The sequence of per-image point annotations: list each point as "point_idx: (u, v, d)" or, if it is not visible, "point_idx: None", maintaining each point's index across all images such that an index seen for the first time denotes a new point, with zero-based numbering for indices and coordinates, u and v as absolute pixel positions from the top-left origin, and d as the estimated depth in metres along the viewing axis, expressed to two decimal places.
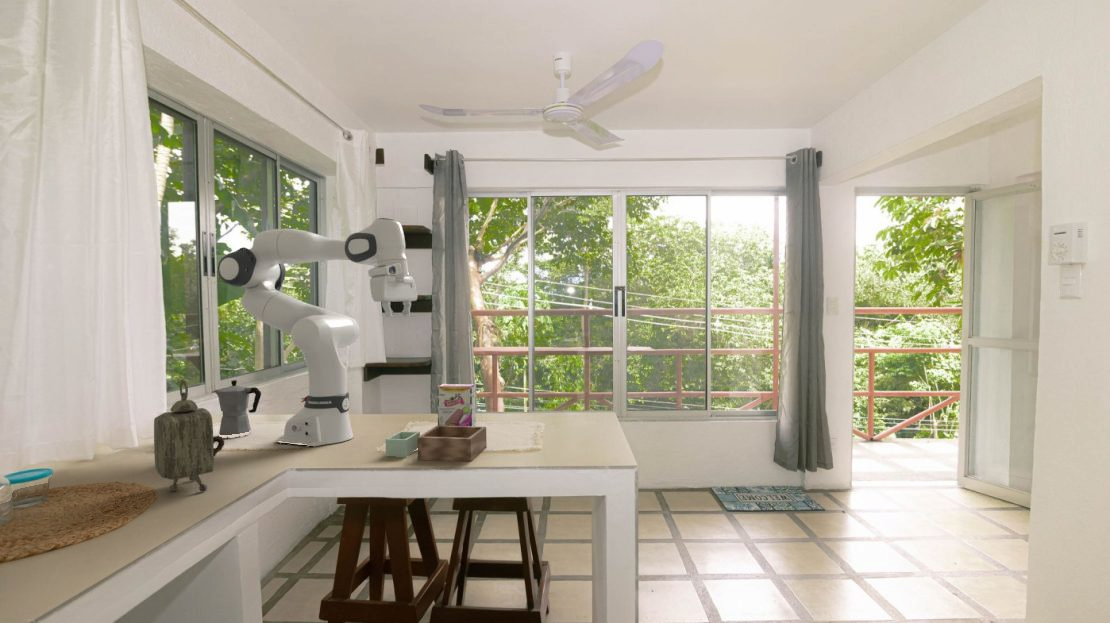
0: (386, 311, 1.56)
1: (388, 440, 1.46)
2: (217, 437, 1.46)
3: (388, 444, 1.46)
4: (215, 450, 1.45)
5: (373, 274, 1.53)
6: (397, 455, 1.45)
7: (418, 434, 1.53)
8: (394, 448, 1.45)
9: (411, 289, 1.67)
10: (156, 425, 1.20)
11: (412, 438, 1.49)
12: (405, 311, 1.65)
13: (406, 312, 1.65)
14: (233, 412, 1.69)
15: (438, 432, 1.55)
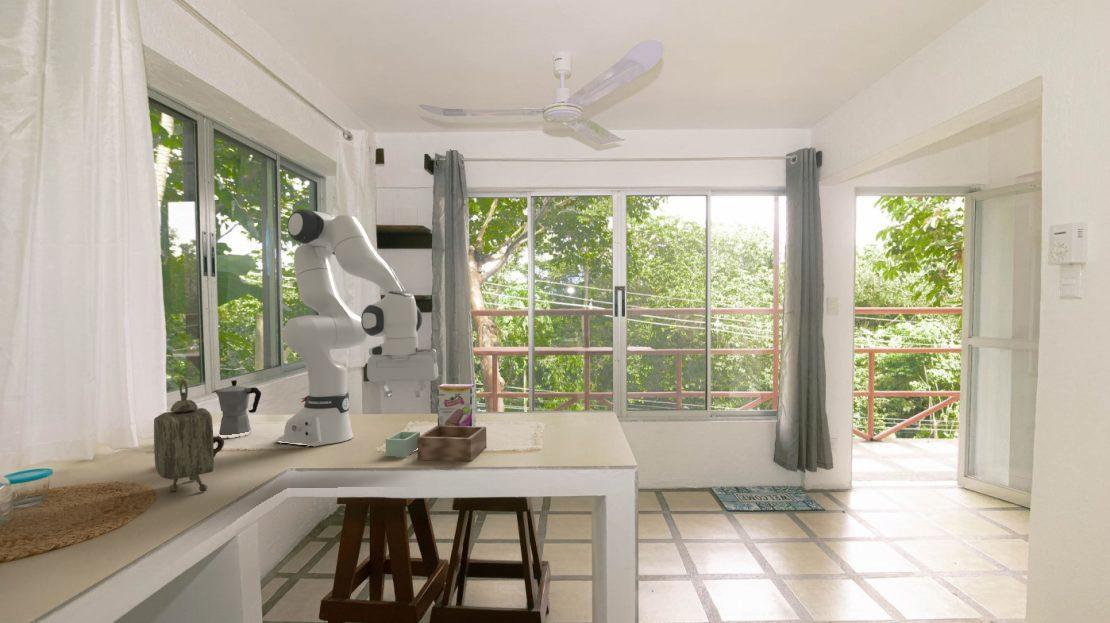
0: None
1: (388, 440, 1.46)
2: (217, 437, 1.46)
3: (388, 444, 1.46)
4: (215, 450, 1.45)
5: None
6: (397, 455, 1.45)
7: (418, 434, 1.53)
8: (394, 448, 1.45)
9: (421, 368, 1.47)
10: (156, 425, 1.20)
11: (412, 438, 1.49)
12: None
13: None
14: (233, 412, 1.69)
15: (438, 432, 1.55)
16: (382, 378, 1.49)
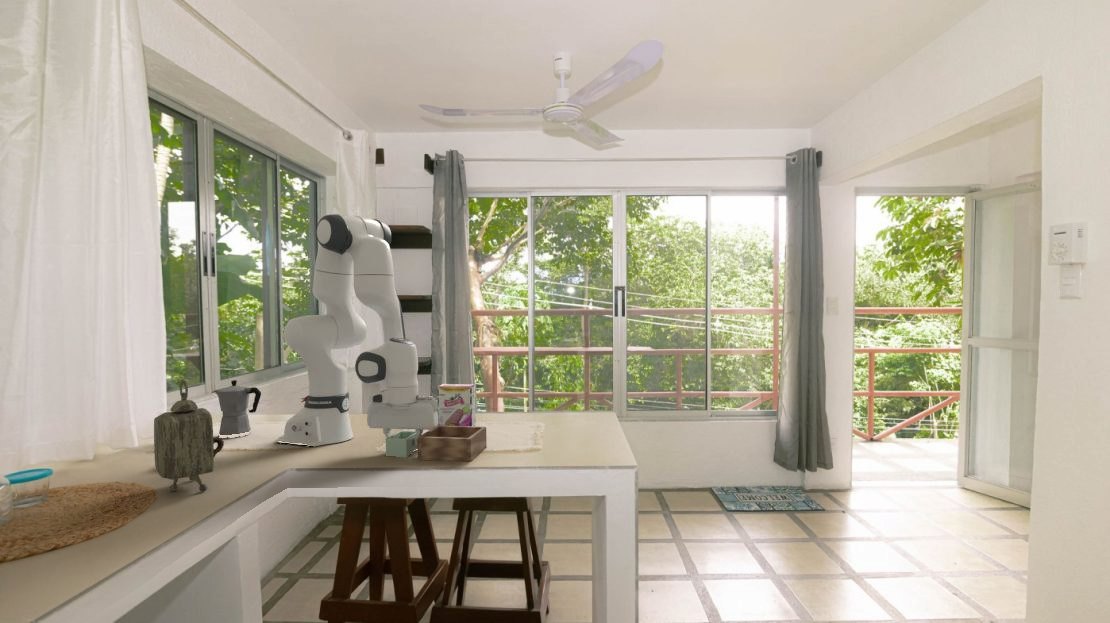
0: None
1: (388, 439, 1.46)
2: (216, 438, 1.45)
3: (388, 444, 1.46)
4: (215, 451, 1.44)
5: None
6: (397, 454, 1.45)
7: None
8: (394, 447, 1.45)
9: (421, 417, 1.47)
10: (156, 425, 1.20)
11: (412, 438, 1.49)
12: None
13: None
14: (233, 412, 1.69)
15: (438, 432, 1.55)
16: (382, 425, 1.49)
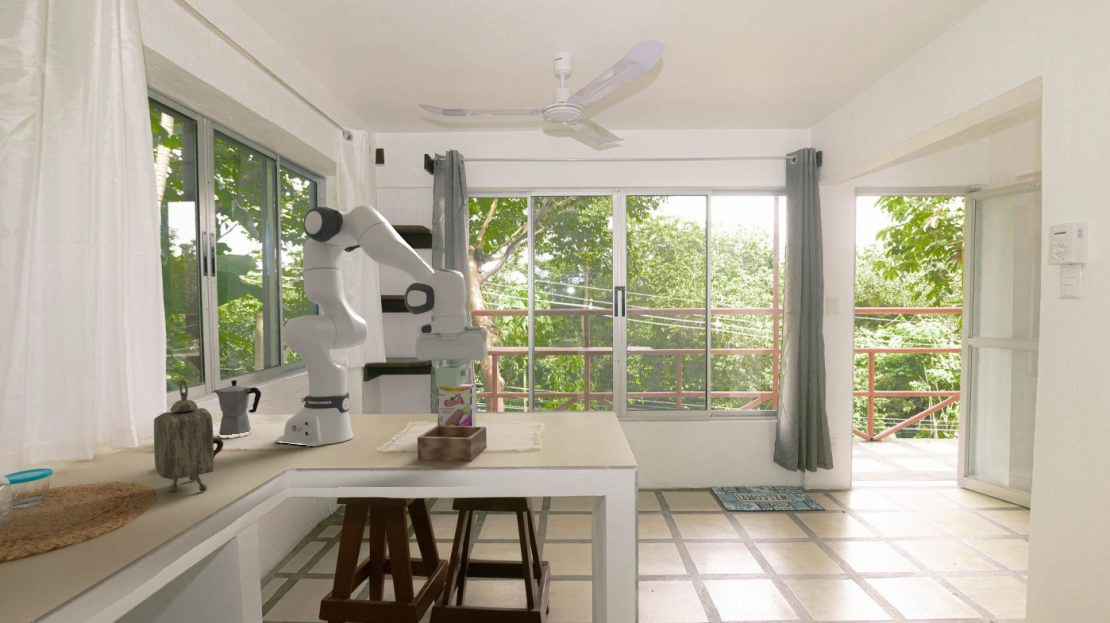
0: None
1: (438, 369, 1.44)
2: (216, 439, 1.44)
3: (438, 373, 1.44)
4: (214, 452, 1.43)
5: None
6: (447, 384, 1.44)
7: None
8: (444, 377, 1.44)
9: (471, 347, 1.45)
10: (156, 425, 1.20)
11: (461, 369, 1.47)
12: None
13: None
14: (233, 412, 1.69)
15: (438, 432, 1.55)
16: (431, 357, 1.47)
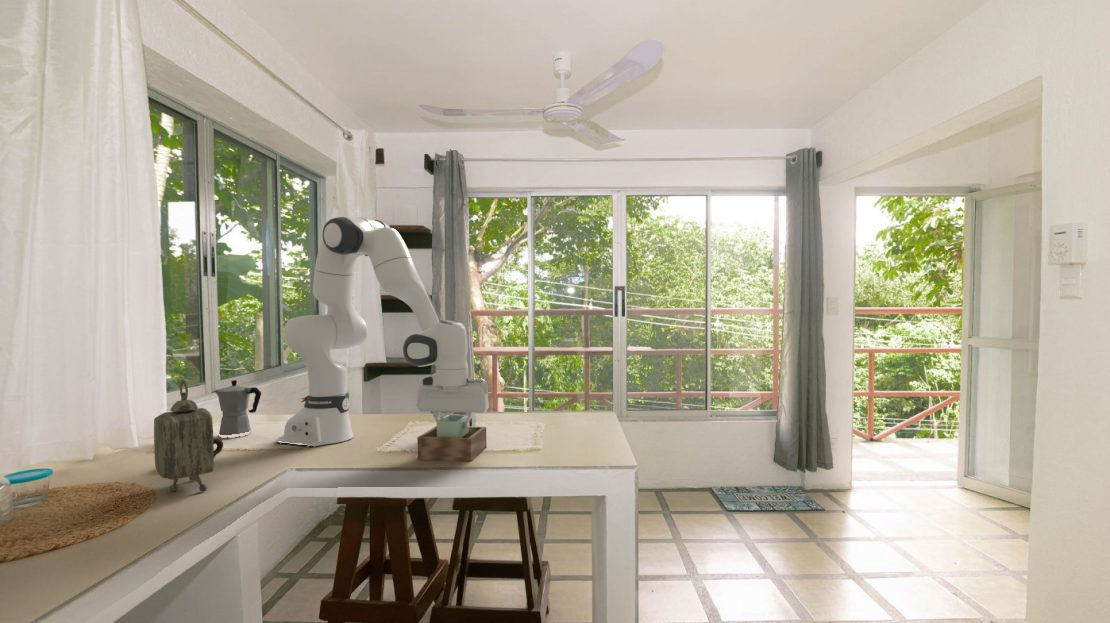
0: None
1: (439, 422, 1.44)
2: (216, 439, 1.44)
3: (439, 426, 1.44)
4: (214, 452, 1.43)
5: None
6: None
7: None
8: (445, 430, 1.44)
9: (472, 400, 1.45)
10: (156, 425, 1.20)
11: (462, 421, 1.47)
12: None
13: None
14: (233, 412, 1.69)
15: None
16: (432, 408, 1.47)
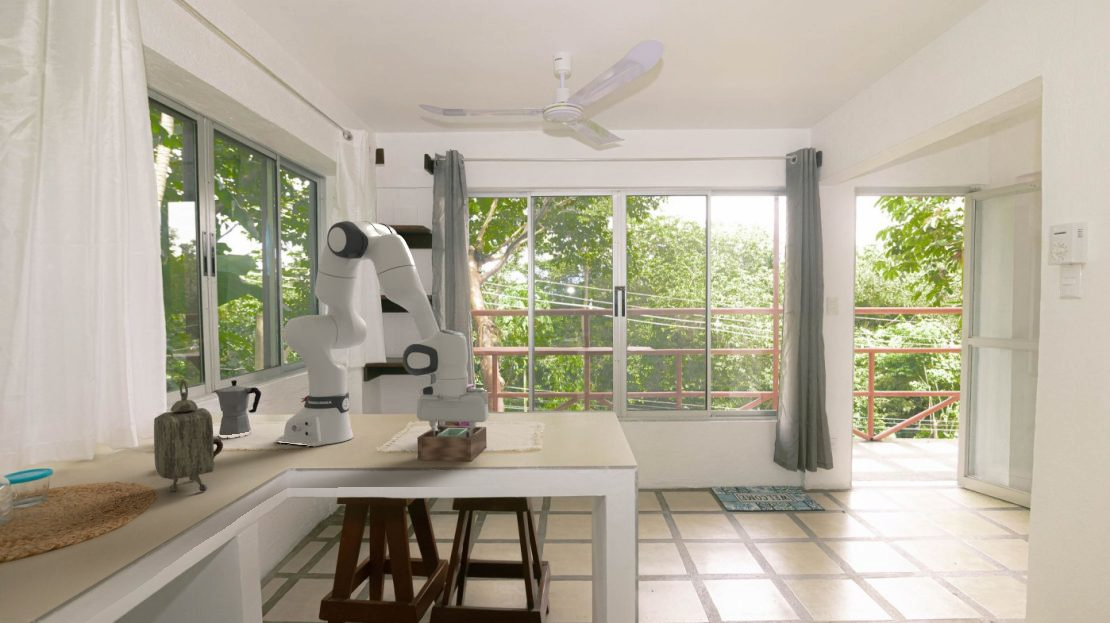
0: None
1: (439, 436, 1.44)
2: (216, 440, 1.43)
3: None
4: (214, 453, 1.42)
5: None
6: None
7: None
8: None
9: (472, 409, 1.45)
10: (156, 425, 1.20)
11: (462, 435, 1.47)
12: None
13: None
14: (233, 412, 1.69)
15: None
16: (432, 418, 1.47)
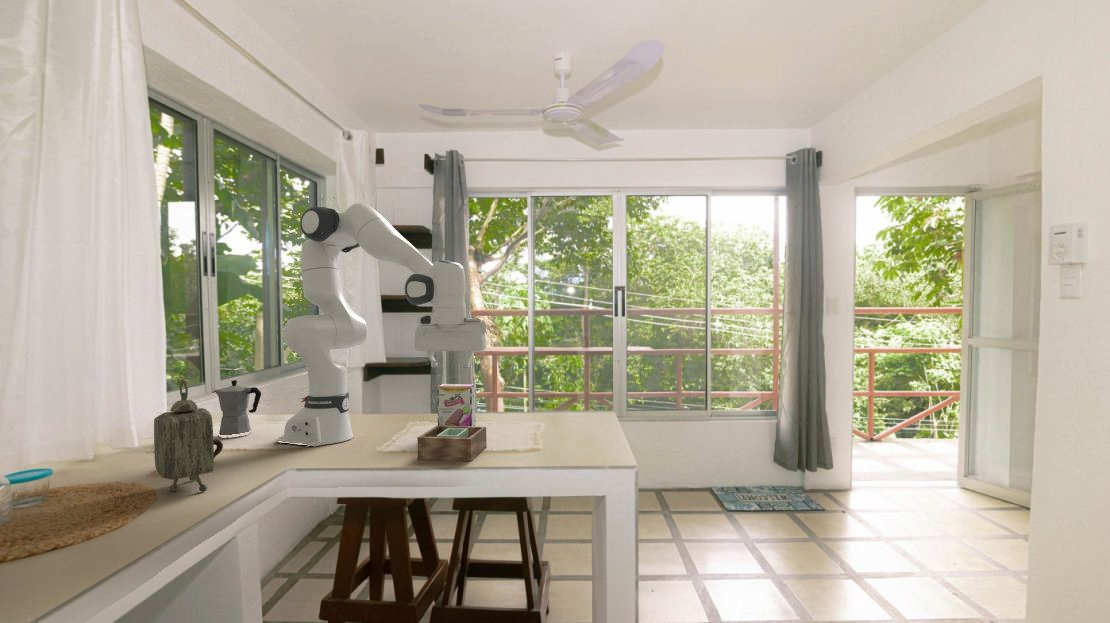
0: None
1: (439, 436, 1.44)
2: (215, 440, 1.43)
3: None
4: (214, 453, 1.42)
5: None
6: None
7: (467, 430, 1.51)
8: None
9: (470, 339, 1.46)
10: (156, 425, 1.20)
11: (462, 435, 1.47)
12: None
13: None
14: (233, 412, 1.69)
15: (438, 432, 1.55)
16: (430, 348, 1.48)
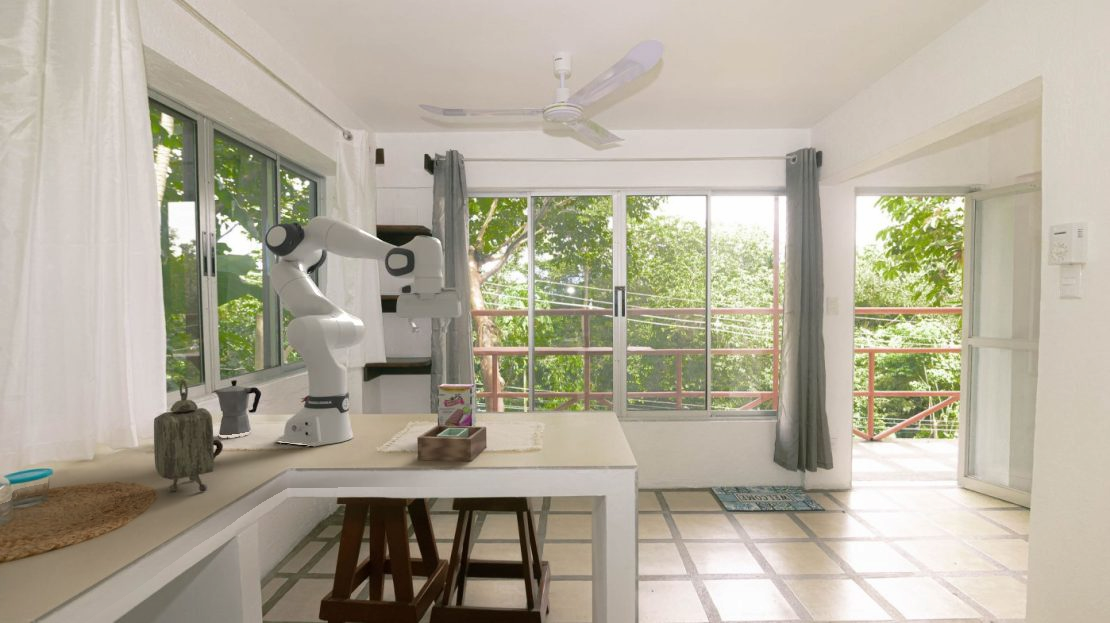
0: None
1: (439, 436, 1.44)
2: (215, 441, 1.42)
3: None
4: (214, 454, 1.41)
5: None
6: None
7: (467, 430, 1.51)
8: None
9: (446, 306, 1.61)
10: (156, 425, 1.20)
11: (462, 435, 1.47)
12: None
13: None
14: (233, 412, 1.69)
15: (438, 432, 1.55)
16: (410, 315, 1.63)
